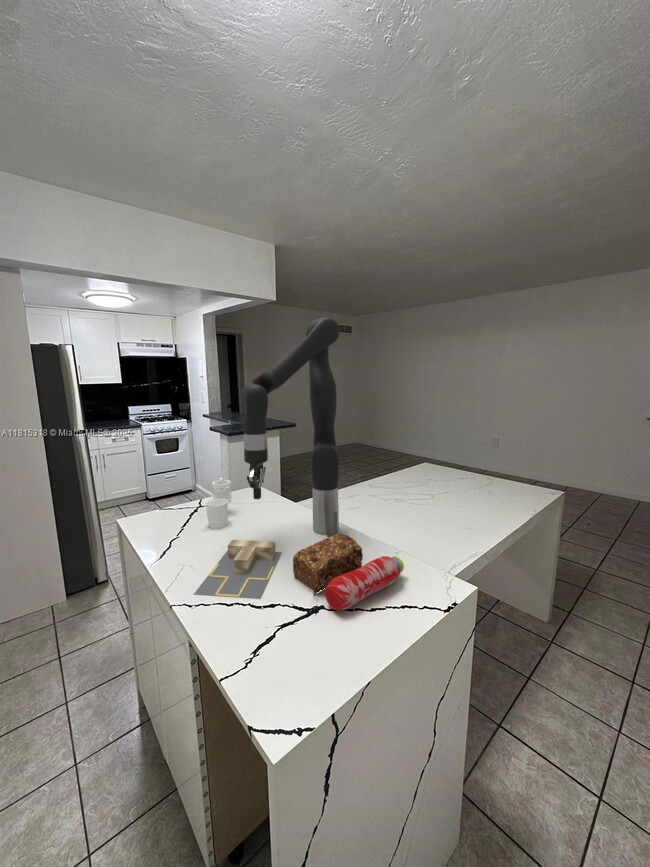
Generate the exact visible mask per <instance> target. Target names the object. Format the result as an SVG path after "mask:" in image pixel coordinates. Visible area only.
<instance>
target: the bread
mask: <svg viewBox="0 0 650 867" xmlns="http://www.w3.org/2000/svg"><path fill="white" fill-rule="evenodd" d="M363 557H364V555H363V547H361V545H360V544H359V543H357V541H356V540H355V539H353V537H352V536H350V535H349V534H345V533H339V532H338V534H336V535H333V536H331V537H327V538H324V539H322V540H321V541H320V540H319V541H318V542H315V543H314V544H311V545H309V546H307V547H305V548H303V549H301V550H299V551H297V552H295V554H294V556H293V559H292V567H293V568H292V572H293V575H294V578H295V579H296V580H298V581H299V582H300V583H301V584H303V585H304V586H306V587H307V588H309V589H310V590H312V591H313V593H314V592H315V593H317V592H319V591H320V590H323V589H324V588H326V586H327V585H328V584H329V583H330V582H331V580H332V579H334V578H336V577H338V576H335V575H336V574H337V573H338V572H340V571H341V570H342V569H344V568H345V567H346V566H347V567H351V568H355V569H358V568H360V567H362V562H363Z"/></svg>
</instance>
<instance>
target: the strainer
mask: <svg viewBox="0 0 650 867" xmlns="http://www.w3.org/2000/svg"><path fill="white" fill-rule="evenodd" d="M211 486H212V497H213V499H226V500H228V504H230V503H232V491H231V490H232V486H231V480H228V479H224V478H223V477H219V480H218V479H217V480H215V481H213V482H212V485H211ZM213 499H212V500H213Z"/></svg>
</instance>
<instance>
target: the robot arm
mask: <svg viewBox="0 0 650 867" xmlns="http://www.w3.org/2000/svg"><path fill="white" fill-rule="evenodd" d="M340 332H341V329H340V326H339V324H338V322H337V321H336V320H335V319H334V318H331V317H329V316H328V317H326V316H325V317H320V318H318V319H315V320H312V321H311V322H309V324H308V325H307V327H306V331H305V337H304V339H302V340H301V341H300V342H299V343H297V345H296V346H294V347H293V348H291V349H290V350H289V351H287V352H285V353H284V354H282V355H281V356H280V357H278V358H277V359H276V360H275V361H274V362H272V363H271V365H269V366H268V367H267V368H266V369H265V370H264V371H263V372H262V373H261V374H260V375H257V376H256V377H254V378H253V379H252V380H251V381H250V382H248V383H247V384H246V385H245V386H244V387H243V389H242V390H241V393H240V399H241V401H242V403H243V404H244V405H245V416H244V418H243V455H244V457H243V458H244V462H245V463H246V464H249V467H248V473H249V475H247V476H246V480H247V483H248V485H249V488H250V489H252V492H253V500H260V499H261V498H262V487H263V484H264V480H265V475H266V466H264V463H266V462H268V460H269V450H268V449H269V448H268V447H269V446H268V435H267V415H268V407H269V394H270V393H271V392H273V391H274V390H277V389H279V388H280V387H282V386H283V385H284V384H285V383H287V381H288V380H290V379H291V377H293V376H294V375H295V374H296V373H297V372H298V371H299V370H300V369H301V368H302V367H304V366H305V365H306V364H307V363H308V362H309V364H308V365H309V373H308V374H309V401H310V402H309V403H310V413H311V417H312V418H311V419H312V422H313V445H312V446H313V447H312V450H311V451H312V453H311V482H312V483H311V484H312V485H311V486H312V530H313V532H314V534H317V535H321V536H326V537H327V538H329V537H330V536H333V535H336V534H339V529H340V526H339V525H340V521H339V518H340V515H339V514H340V513H339V512H340V511H339V509H340V508H339V507H340V506H339V473H340V472H339V471H340V470H339V464H340V463H339V453H338V447H337V444H336V443H337V442H336V435H335V434H336V433H335V422H336V417H337V416H336V414H337V404H338V402H337V401H338V400H337V385H336V381H335V377H334V374H333V371H332V369H331V366H330V360H329V349H330V348H329V347H330V346H332V345H333V344H335V343H336V342H337V341H338V339H339V337H340Z"/></svg>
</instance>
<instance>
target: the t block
mask: <svg viewBox="0 0 650 867" xmlns="http://www.w3.org/2000/svg"><path fill="white" fill-rule="evenodd" d="M227 550H228V558H235V559H234V571H235V573H249V571H250V569H251V567H252V566H253V564H254V562H255V561H256V559H266V560H272V559H273V557H274V555H275V552H276V541H271V540H269V541H268V540H266V541H265V540H251V539H249V540H247V539H246V540H245V539H232V540H231V541H230V542H229V543H228V545H227Z"/></svg>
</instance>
